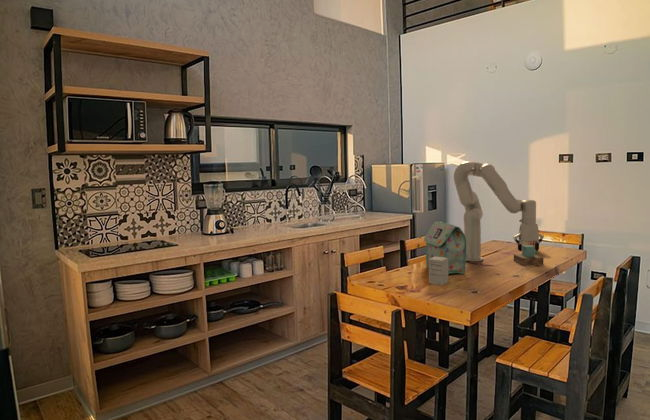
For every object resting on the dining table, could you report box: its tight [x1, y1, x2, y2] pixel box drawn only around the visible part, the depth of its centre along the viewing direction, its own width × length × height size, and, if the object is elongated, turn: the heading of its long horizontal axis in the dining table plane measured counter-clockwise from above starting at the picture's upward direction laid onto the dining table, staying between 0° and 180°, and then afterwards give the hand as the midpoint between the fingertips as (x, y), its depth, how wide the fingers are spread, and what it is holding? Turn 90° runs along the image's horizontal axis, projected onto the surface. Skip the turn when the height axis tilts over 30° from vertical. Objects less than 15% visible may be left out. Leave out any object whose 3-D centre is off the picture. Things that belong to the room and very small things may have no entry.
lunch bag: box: [423, 220, 467, 275], centre depth 253 cm, size 23×16×27 cm
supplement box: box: [428, 257, 449, 286], centre depth 228 cm, size 7×7×13 cm
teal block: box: [521, 245, 535, 257], centre depth 267 cm, size 5×5×6 cm
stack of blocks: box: [521, 241, 539, 255], centre depth 302 cm, size 21×6×12 cm, turn 169°
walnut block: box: [513, 253, 544, 266], centre depth 267 cm, size 12×12×4 cm
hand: (528, 250), depth 266 cm, fingers open, 9 cm apart
